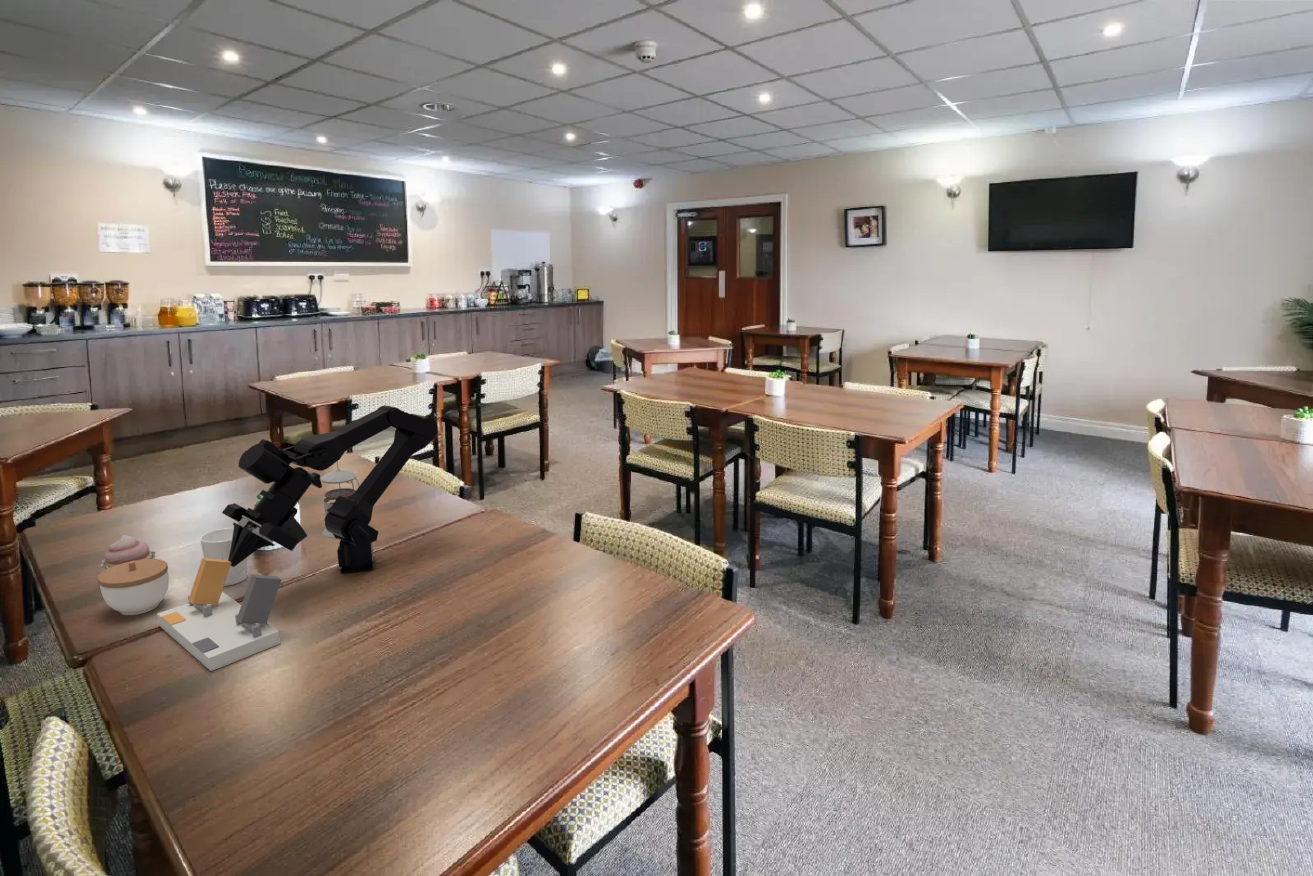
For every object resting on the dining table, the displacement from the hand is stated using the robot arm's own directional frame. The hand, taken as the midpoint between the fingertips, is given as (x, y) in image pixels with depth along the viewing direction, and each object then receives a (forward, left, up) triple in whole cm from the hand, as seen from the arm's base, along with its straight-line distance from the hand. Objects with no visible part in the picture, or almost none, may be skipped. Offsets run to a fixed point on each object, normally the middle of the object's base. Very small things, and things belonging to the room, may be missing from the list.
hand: (230, 565), depth 133 cm
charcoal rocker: (-5, +13, -7) cm, 16 cm away
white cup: (+5, -15, -9) cm, 18 cm away
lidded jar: (+18, -6, -9) cm, 21 cm away
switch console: (+1, +9, -9) cm, 13 cm away
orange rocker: (+5, +3, -7) cm, 9 cm away
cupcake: (+24, -20, -9) cm, 32 cm away
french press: (-15, -39, -9) cm, 43 cm away
